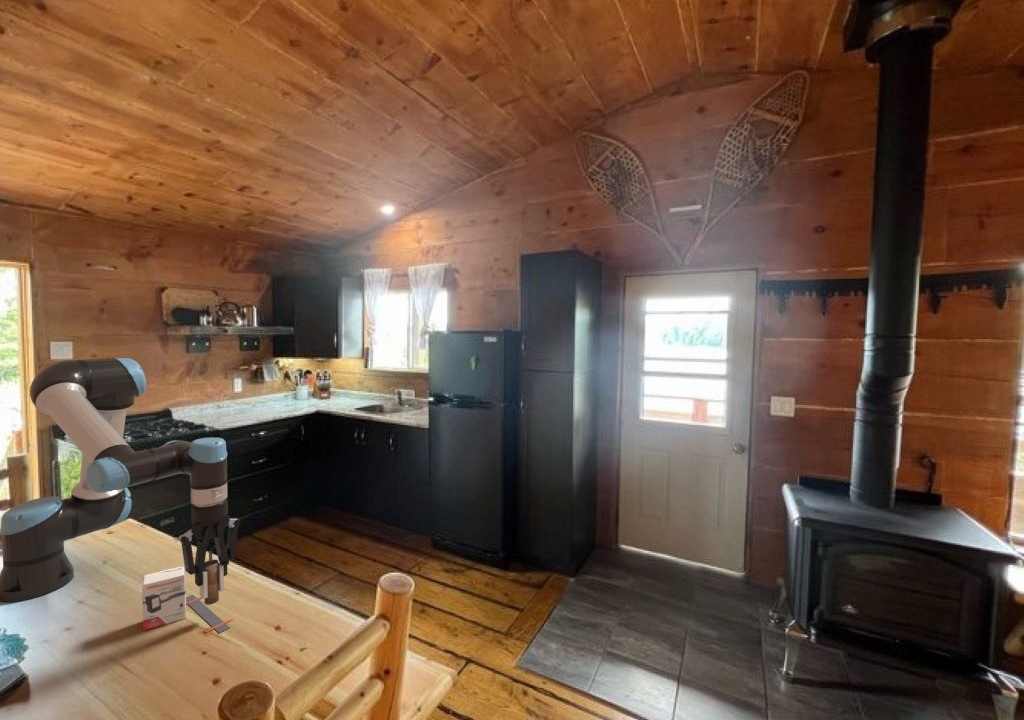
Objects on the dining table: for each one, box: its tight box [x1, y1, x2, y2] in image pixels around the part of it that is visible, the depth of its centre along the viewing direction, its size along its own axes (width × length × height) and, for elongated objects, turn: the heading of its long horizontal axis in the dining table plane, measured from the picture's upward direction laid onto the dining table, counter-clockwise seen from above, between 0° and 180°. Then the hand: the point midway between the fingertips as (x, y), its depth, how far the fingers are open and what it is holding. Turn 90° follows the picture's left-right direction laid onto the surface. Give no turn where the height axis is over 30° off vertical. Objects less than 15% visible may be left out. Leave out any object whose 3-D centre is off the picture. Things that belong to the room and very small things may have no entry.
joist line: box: [186, 594, 234, 634], centre depth 116 cm, size 22×6×1 cm, turn 55°
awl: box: [203, 550, 220, 606], centre depth 113 cm, size 3×3×13 cm
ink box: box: [141, 565, 187, 631], centre depth 113 cm, size 8×5×12 cm, turn 127°
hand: (211, 592), depth 113 cm, fingers closed on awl, 3 cm apart
